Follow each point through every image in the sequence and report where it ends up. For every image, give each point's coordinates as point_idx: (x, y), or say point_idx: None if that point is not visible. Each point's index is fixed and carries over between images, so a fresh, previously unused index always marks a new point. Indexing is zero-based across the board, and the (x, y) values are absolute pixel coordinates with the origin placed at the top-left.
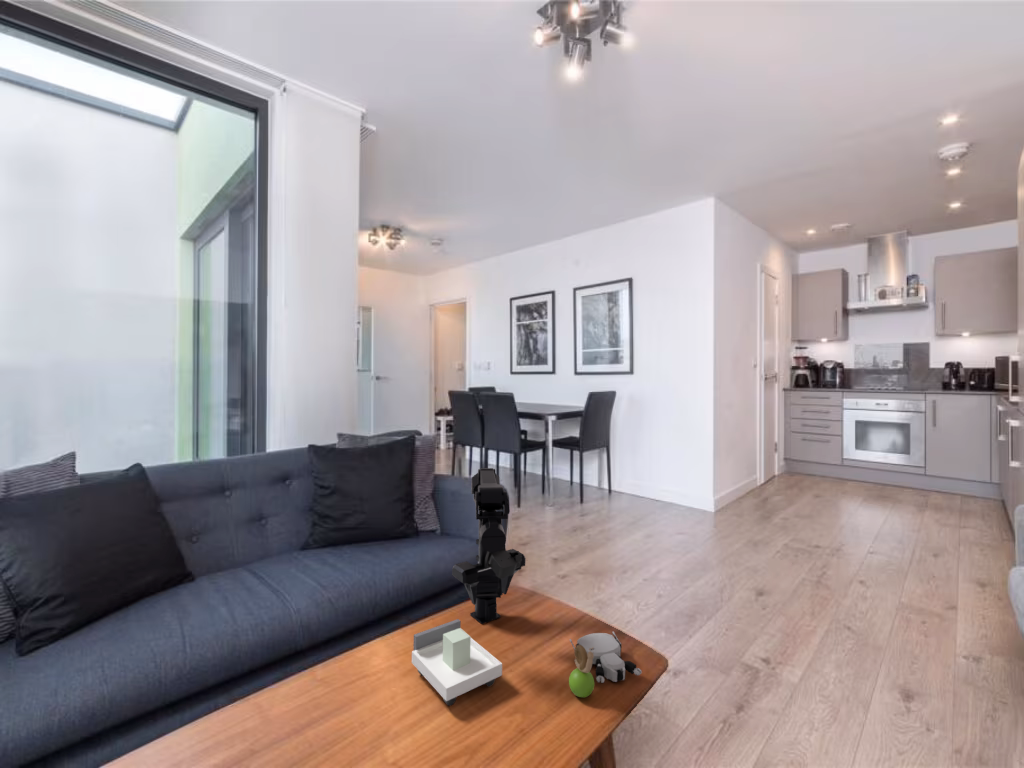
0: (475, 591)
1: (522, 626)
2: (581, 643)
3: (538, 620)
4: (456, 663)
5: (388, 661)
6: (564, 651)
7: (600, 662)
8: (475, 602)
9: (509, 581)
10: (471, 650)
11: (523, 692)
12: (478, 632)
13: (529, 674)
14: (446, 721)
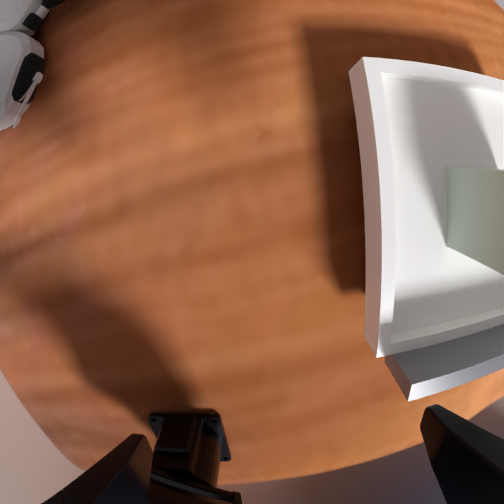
0: (501, 464)
1: (102, 344)
2: (7, 83)
3: (51, 340)
4: (500, 169)
5: None
6: (49, 151)
7: (30, 13)
8: (439, 413)
9: (71, 498)
10: (405, 240)
11: (288, 24)
12: (251, 388)
13: (217, 84)
14: (499, 78)
